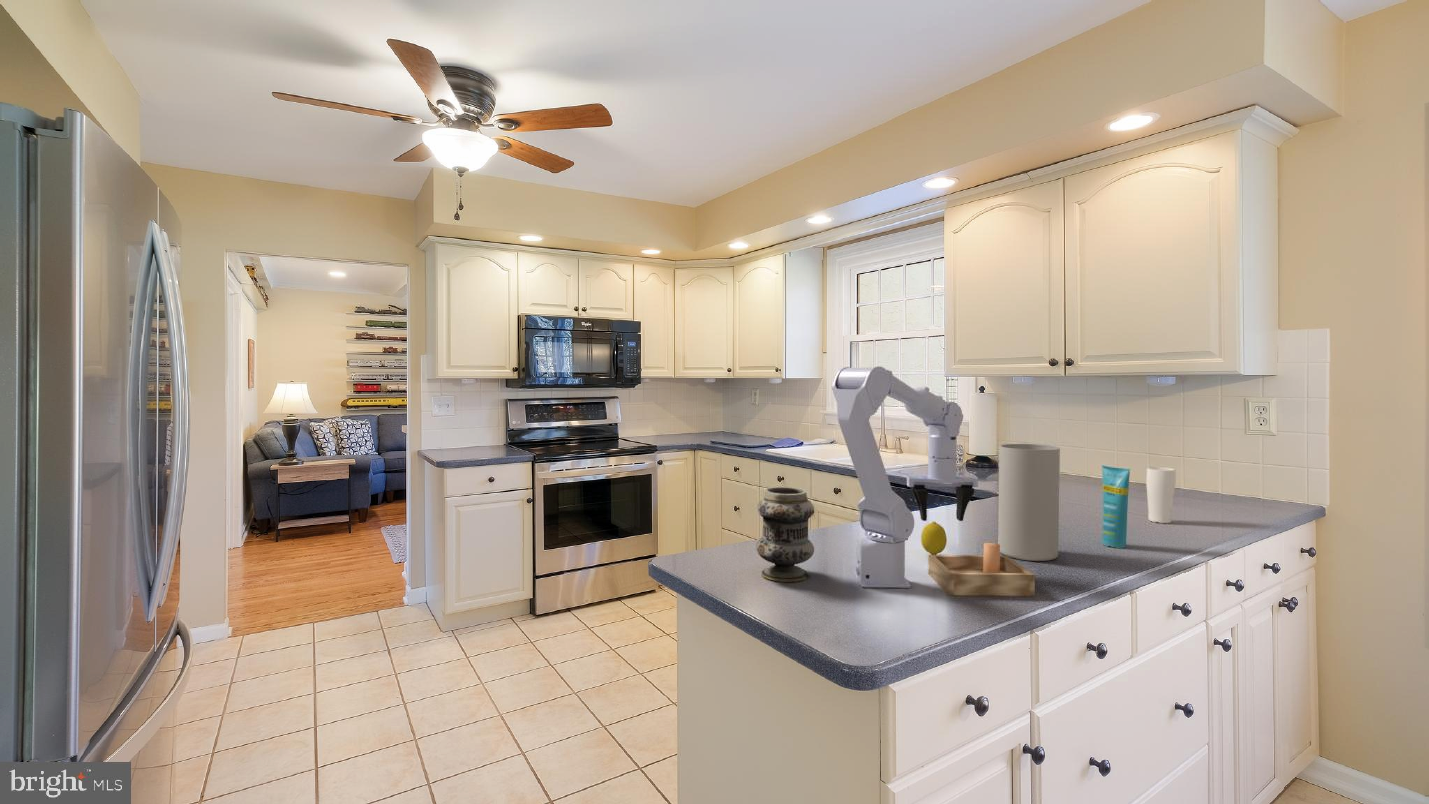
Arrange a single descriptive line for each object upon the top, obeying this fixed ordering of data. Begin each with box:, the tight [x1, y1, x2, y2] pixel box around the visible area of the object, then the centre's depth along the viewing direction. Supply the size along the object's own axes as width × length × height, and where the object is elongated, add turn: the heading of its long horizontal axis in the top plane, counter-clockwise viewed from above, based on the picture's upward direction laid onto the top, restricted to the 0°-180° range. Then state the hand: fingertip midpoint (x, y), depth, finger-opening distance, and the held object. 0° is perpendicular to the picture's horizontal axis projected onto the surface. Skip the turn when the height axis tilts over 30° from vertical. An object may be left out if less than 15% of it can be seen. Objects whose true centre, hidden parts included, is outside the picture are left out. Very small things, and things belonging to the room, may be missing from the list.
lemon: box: [920, 521, 948, 555], centre depth 148 cm, size 6×6×8 cm
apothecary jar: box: [755, 486, 815, 583], centre depth 135 cm, size 12×12×18 cm
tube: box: [1101, 464, 1131, 549], centre depth 156 cm, size 7×5×19 cm, turn 23°
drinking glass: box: [1145, 466, 1177, 524], centre depth 181 cm, size 7×7×15 cm
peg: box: [983, 542, 1001, 573], centre depth 128 cm, size 3×3×8 cm
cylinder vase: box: [997, 443, 1061, 562], centre depth 149 cm, size 12×12×25 cm
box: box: [928, 554, 1036, 597], centre depth 128 cm, size 16×13×4 cm
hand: (941, 519), depth 139 cm, fingers open, 7 cm apart
